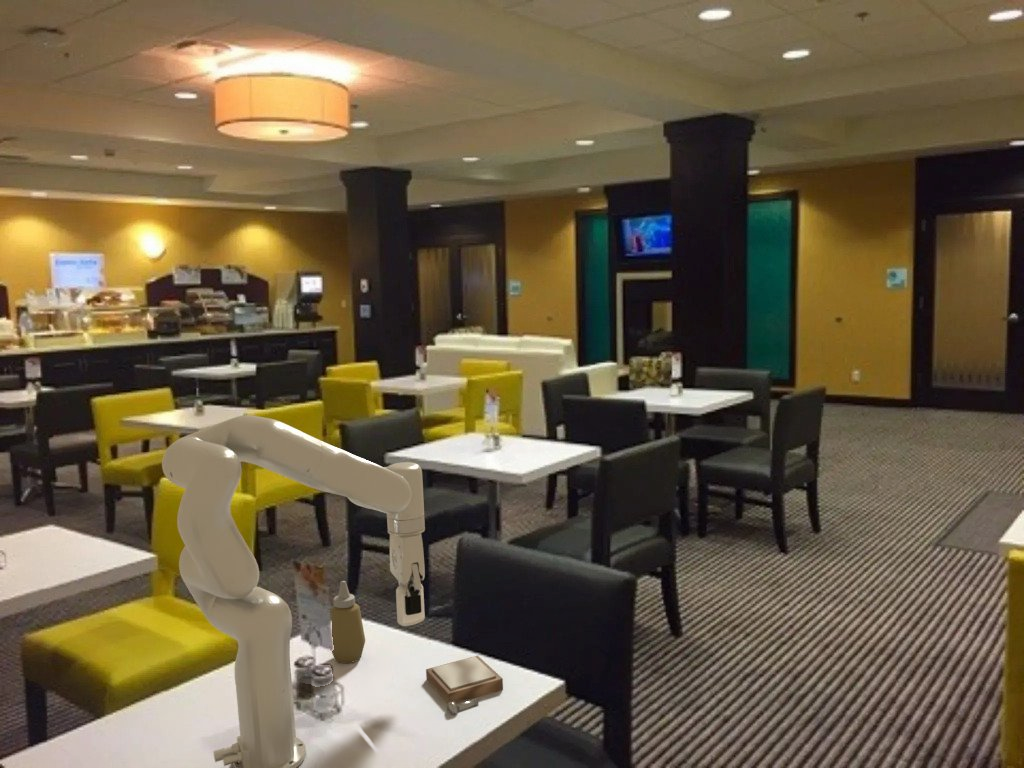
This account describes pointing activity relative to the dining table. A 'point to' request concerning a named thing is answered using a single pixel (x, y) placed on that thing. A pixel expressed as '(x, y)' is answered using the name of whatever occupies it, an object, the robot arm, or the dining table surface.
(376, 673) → the dining table surface
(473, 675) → the picture frame
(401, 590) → the eye dropper bottle
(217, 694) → the dining table surface
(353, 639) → the squeeze bottle
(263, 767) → the robot arm
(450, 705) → the loose bolt
